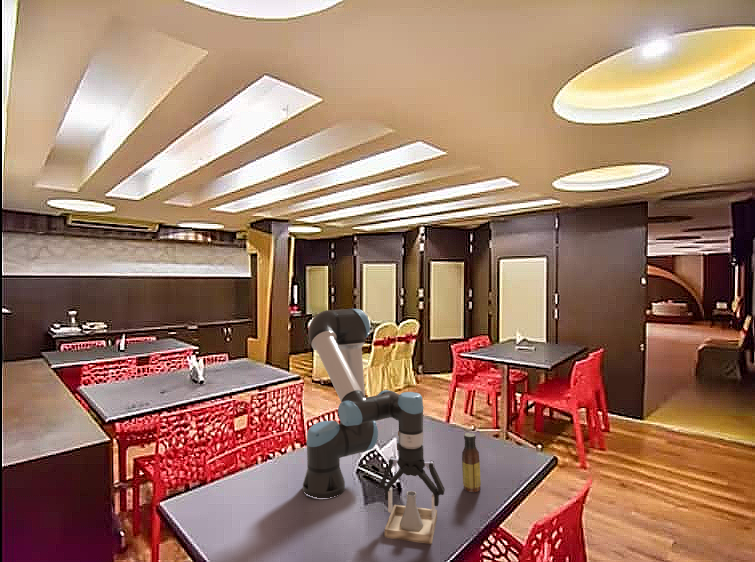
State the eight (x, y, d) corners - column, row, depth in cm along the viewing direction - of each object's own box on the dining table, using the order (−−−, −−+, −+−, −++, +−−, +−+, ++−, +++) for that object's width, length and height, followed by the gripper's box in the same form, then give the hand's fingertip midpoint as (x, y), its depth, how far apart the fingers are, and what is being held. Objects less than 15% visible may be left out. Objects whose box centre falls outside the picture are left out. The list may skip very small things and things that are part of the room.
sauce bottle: (478, 484, 161) (477, 431, 160) (482, 493, 155) (482, 437, 154) (460, 485, 161) (460, 431, 160) (464, 493, 154) (464, 437, 154)
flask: (422, 533, 130) (421, 500, 130) (398, 530, 132) (397, 498, 131) (424, 520, 137) (424, 488, 137) (401, 517, 139) (401, 486, 139)
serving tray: (384, 537, 129) (384, 529, 129) (394, 512, 143) (394, 504, 143) (431, 544, 126) (431, 535, 126) (437, 517, 140) (437, 509, 140)
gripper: (368, 445, 133) (369, 514, 134) (450, 452, 127) (451, 525, 128) (374, 436, 141) (375, 501, 141) (452, 443, 135) (453, 511, 135)
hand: (411, 512), depth 134 cm, fingers open, 13 cm apart
